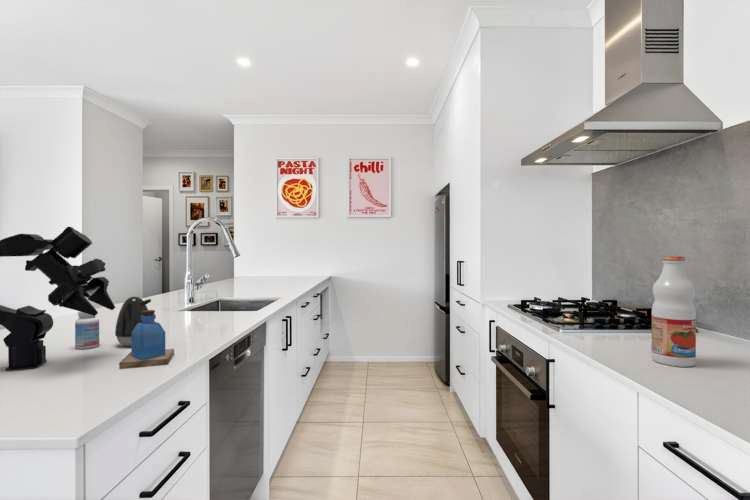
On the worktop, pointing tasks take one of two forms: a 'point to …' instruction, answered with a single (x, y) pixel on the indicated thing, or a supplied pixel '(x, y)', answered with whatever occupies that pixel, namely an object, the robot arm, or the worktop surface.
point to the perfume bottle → (147, 337)
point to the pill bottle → (86, 331)
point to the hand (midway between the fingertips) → (105, 311)
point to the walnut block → (146, 360)
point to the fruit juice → (674, 316)
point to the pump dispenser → (129, 318)
